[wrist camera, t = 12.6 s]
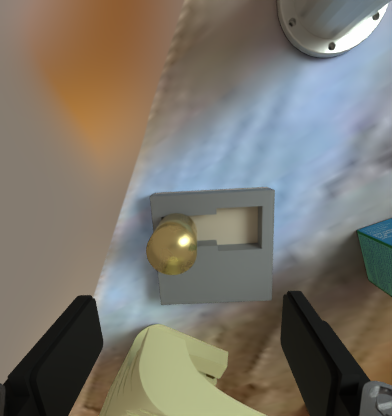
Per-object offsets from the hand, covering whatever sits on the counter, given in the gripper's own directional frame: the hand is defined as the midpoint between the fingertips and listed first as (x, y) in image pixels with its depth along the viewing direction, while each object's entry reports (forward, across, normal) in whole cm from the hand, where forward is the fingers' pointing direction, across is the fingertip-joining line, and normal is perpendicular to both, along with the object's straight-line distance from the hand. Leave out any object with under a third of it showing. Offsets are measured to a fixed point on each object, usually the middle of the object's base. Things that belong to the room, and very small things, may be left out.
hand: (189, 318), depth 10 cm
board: (+21, -2, +5) cm, 22 cm away
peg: (+20, +3, +2) cm, 20 cm away
